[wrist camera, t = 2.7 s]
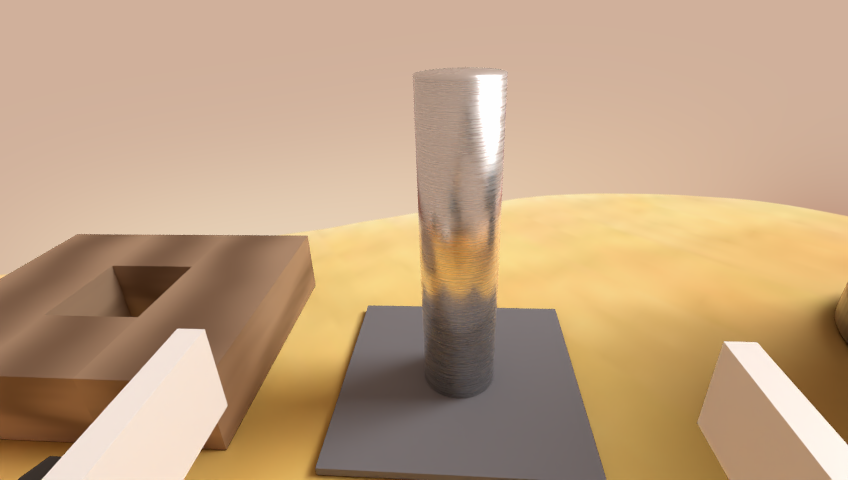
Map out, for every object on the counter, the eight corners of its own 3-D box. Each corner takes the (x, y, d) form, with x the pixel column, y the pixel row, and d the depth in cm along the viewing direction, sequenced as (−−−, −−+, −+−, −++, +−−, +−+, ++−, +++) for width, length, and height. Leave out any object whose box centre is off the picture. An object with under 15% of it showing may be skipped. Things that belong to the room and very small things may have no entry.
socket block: (315, 285, 33) (307, 235, 32) (226, 449, 21) (204, 383, 19) (96, 281, 35) (77, 234, 33) (-110, 433, 22) (-159, 370, 21)
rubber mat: (554, 314, 29) (555, 309, 29) (606, 489, 19) (607, 482, 18) (368, 310, 30) (368, 305, 30) (316, 474, 20) (315, 468, 19)
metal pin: (491, 351, 26) (503, 66, 19) (495, 399, 22) (511, 78, 16) (427, 349, 26) (417, 68, 19) (422, 397, 23) (408, 80, 16)
